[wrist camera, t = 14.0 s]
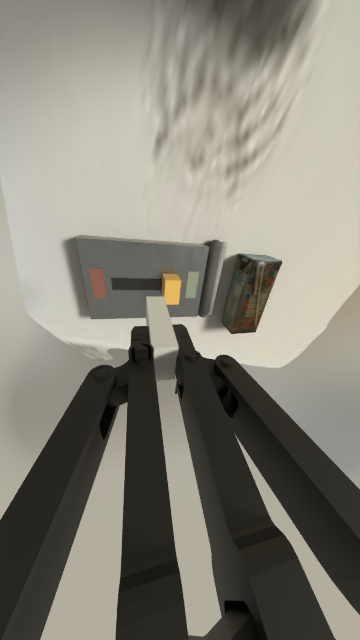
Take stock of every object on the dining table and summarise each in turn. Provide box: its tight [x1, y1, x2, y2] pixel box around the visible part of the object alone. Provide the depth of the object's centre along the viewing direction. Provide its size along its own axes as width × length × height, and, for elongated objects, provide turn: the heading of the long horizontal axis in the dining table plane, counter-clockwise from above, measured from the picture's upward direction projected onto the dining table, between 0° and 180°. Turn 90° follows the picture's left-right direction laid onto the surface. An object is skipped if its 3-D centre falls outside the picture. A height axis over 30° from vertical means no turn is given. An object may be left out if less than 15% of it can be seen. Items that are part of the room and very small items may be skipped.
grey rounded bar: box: [198, 240, 227, 317], centre depth 41 cm, size 18×4×2 cm, turn 175°
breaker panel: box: [75, 235, 209, 319], centre depth 38 cm, size 16×24×3 cm, turn 84°
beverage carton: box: [222, 254, 282, 334], centre depth 43 cm, size 8×19×7 cm, turn 175°
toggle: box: [161, 273, 181, 305], centre depth 35 cm, size 5×3×4 cm, turn 175°
